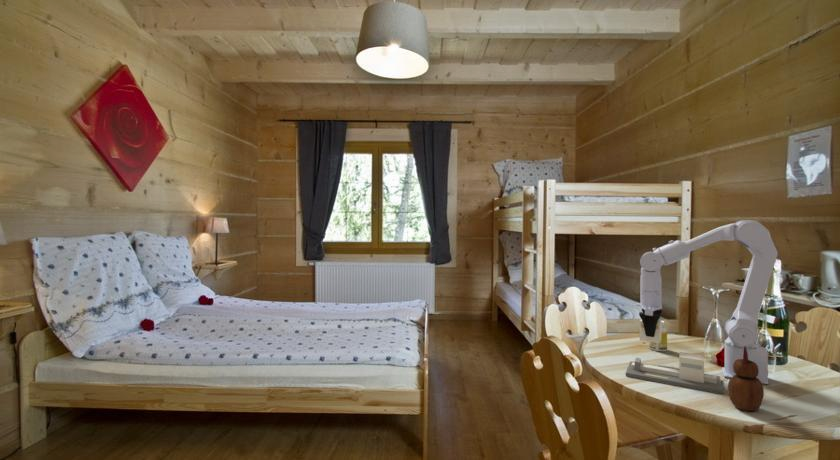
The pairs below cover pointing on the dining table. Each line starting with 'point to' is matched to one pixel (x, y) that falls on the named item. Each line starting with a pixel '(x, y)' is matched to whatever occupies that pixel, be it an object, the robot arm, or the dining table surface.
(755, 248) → the robot arm
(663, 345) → the supplement bottle
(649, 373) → the rail
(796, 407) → the dining table surface
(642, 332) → the block
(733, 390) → the wooden figurine
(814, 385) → the dining table surface
